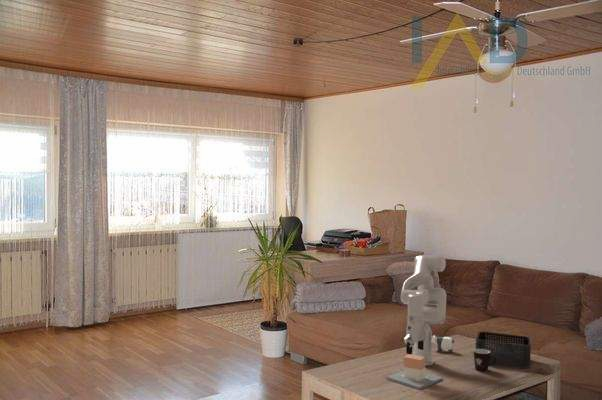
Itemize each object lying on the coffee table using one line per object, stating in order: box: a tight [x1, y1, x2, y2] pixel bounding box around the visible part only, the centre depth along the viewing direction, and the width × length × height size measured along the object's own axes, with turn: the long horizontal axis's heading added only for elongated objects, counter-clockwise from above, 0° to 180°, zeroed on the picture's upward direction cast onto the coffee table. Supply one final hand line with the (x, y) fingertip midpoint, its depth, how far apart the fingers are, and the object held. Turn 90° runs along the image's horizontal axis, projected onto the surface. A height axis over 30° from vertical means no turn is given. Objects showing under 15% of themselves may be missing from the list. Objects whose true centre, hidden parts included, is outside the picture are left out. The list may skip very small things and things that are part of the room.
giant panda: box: [432, 334, 455, 355], centre depth 339 cm, size 15×6×10 cm, turn 66°
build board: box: [385, 369, 444, 390], centre depth 290 cm, size 20×20×1 cm
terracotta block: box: [403, 354, 426, 370], centre depth 290 cm, size 9×6×5 cm, turn 58°
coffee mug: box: [473, 348, 496, 373], centre depth 304 cm, size 12×9×10 cm
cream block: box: [403, 366, 427, 380], centre depth 290 cm, size 9×6×5 cm, turn 46°
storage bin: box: [475, 331, 532, 370], centre depth 321 cm, size 29×19×13 cm
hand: (415, 351), depth 291 cm, fingers open, 9 cm apart
